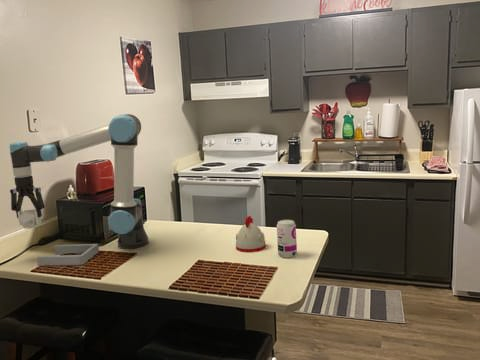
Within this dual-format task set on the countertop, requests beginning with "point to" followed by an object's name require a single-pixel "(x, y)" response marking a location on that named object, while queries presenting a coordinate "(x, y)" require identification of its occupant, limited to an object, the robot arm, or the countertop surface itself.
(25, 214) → the die
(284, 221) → the supplement can
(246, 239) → the kitchen timer
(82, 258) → the channel
